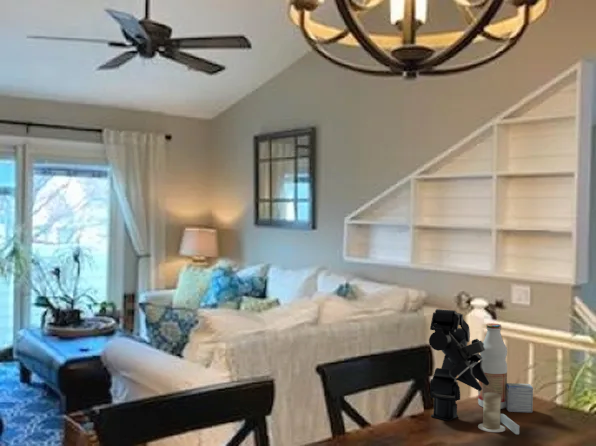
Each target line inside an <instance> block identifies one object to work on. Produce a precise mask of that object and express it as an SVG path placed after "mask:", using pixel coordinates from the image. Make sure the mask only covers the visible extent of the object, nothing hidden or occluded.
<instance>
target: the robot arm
mask: <svg viewBox="0 0 596 446" xmlns="http://www.w3.org/2000/svg"><path fill="white" fill-rule="evenodd" d="M459 326H460V327H459ZM429 329H430V331H434V332H432V334H430V336H429V338H428V343H429V346H430V347H431V348H432V350H434V351H441V352H442V353H443V355H444V356H443V361H442V365H441V368H440V367H436V368H435V370H434V373H433V376H432V378H431V379H430V380H429V381H430V382H429V393H430V398H431V399H433V413H432V414H431V415H430V417H431V418H434V419H435V418H436V419H440V420H444V421H449V422H450V421H451V420H454V419H455V418H456V419H457V418H458V416H459V415H458V404H457V402H458V401H461V388H460V385H459V382H460V383H463V384H465V385H467V386H469V387H470V388H472V389H474V390H477V392H478V391H481V390H482V387H481V386H480V384H479V383H478V382H479V381H480V382H482V383H484V384H485V385H488V384H489V381H488V379H487V377H486V375H485V373H484V371H483V369H482V362H483V360H481V359H482V357H481V355H480V352H483V351H484V350H485V349H484V346H483V345H484V343H483V341H482V340H479V339H478V338H475V339H472V340H471V331H470V326H469V324H468V323H467V321H466V320H465V319H464V314H463V313H459V312H457V311H456V310H454V309H441V308H440V309H439V308H438V309H437V308H436V309H435V311H434V312H432V317H431V322H430V327H429ZM470 340H471V343H470V344H468V343H469V342H470ZM480 360H481V361H480Z"/></svg>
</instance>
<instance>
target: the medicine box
mask: <svg viewBox="0 0 596 446" xmlns="http://www.w3.org/2000/svg"><path fill="white" fill-rule="evenodd" d="M533 401H534V387H533V386H532V385H531V384H530V383H514V382H513V383H512V382H511V383H510V382H509V383H508V382H507V384H506V407H505V408H506V410H507V411H508V412H509V413H511V412H512V413H513V412H514V413H534V412H533V411H534V410H533V405H534V404H533Z"/></svg>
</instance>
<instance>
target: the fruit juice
mask: <svg viewBox="0 0 596 446" xmlns="http://www.w3.org/2000/svg"><path fill="white" fill-rule="evenodd" d="M485 327H486V329H487V330H486V334H485V337H484V340H483V341H482V343H484V345H483V346H484V349H485V350H484V351H483V352H480V353H479V354H480V355H481V357H482V359H481V360H483V362H482V369H483V371H484V373H485V375H486V377H487V379H488V381H489V384H488V385H485V384H484V383H482V382H480V381H479V380H478V383H479V384H480V386H481V387H482V390H481V391H478V390H477V392H478V393H477V398H478V399H477V403H478V405H479V406H480V407H482V408H483V405H484V393H487V392H492V393H498V394H500V395H501V405H500V410H501V409H502V410H503V409H505V408H506V384H507V383H508V363H507V361H506V358H507V356H508V347H507V345H506V343H504V340H503V338H502V336H503V335H502V334H501V330H502V325H501V324H499V323H494V322H493V323H487V324H486V326H485ZM481 360H480V361H481ZM480 361H479V362H480Z"/></svg>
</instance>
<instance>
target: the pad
mask: <svg viewBox="0 0 596 446" xmlns="http://www.w3.org/2000/svg"><path fill="white" fill-rule="evenodd" d="M477 427H478V429H479V430H481V431H484V432H489V433H503V432H505V431H506V426H505V425H503V424H502V425H501V424H500V429H497V430H491V429H486V428H484V427H483V422H482V423H479V424H478V426H477Z"/></svg>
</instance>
